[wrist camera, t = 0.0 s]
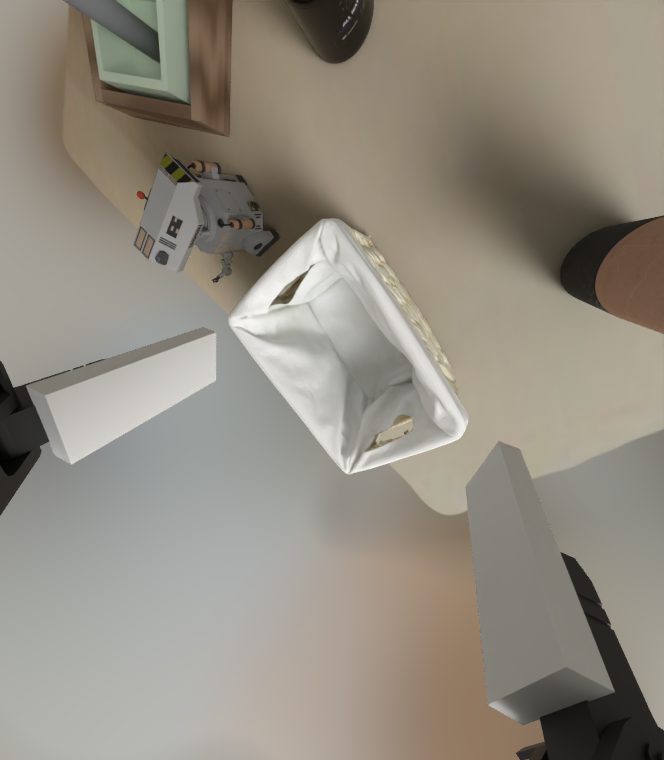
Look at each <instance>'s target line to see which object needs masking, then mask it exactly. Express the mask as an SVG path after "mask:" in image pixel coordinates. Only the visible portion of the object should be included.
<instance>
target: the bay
mask: <svg viewBox="0 0 664 760" xmlns="http://www.w3.org/2000/svg"><path fill="white" fill-rule="evenodd" d="M82 17H83V23H84V30H85V36H86V42H87V48H88V55H89V61H90V67H91V73H92V80H93V86H94V92H95V98H96V101H98V102H100V103H102V104H105V105H107V106H109V107H112V108H114V109H116V110H119V111H121V112H123V113H126V114H128V115H130V116H133V117H136V118H141V119H145V120H150V121H155V122H160V123H165V124H169V125H174V126H179V127H184V128H189V129H194V130H198V131H203V132H208V133H213V134H218V135H222V136H227V137H229V125H230V80H231V35H232V0H188V24H189V56H190V89H191V106H190V105H185V104H179V103H174V102H169V101H163V100H158V99H152V98H147V97H142V96H136V95H131V94H128V93H126V92H124V91H122V90H120V89H118V88H116V87H114V86H112V85H110V84H108V83H106V82H104V81H102V80H100V78H99V71H98V65H97V58H96V51H95V45H94V38H93V31H92V25H91V18H89V17H88V16H86V15H85V14H83V13H82Z"/></svg>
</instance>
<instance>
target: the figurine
mask: <svg viewBox="0 0 664 760" xmlns="http://www.w3.org/2000/svg"><path fill="white" fill-rule="evenodd" d="M190 167H191V168H192V170H193V171H197V172H201V173H203V178H202V176H201V175H196V174H193V173H192V172H191V171H190V170H189V168H190ZM220 173H221V168H220V165H219V164H218V163H208V162H203V161H195V160H192V161H191V165H189V166H188V167H186V166H185V165H184V164H183V163H182V162H181V161H180V160H178V159H177V158H175V157H174V156H172V155H170V154H169V153H166V154H165V156H164V158H163V160H162V161H161V163H160V165H159V168H158V171H157V174H156V177H155V180H154V183H153V186H152V188H151V190H150V193H149V196H148V198H147V197H145V195H144V193H143V192H141V191H138V192H137V196H138V197H139V198H140V199H144V198H145V199H147V202H146V205H145V208H144V213H143V216H142V219H141V222H140V226H139V229H138V232H137V235H136V238H135V241H134V244H133V245H134V246H135V247H136V248H137V249H138V250H139V251H140V252H141V253H142V254H143V255H144V256H145V258H146V259H148V261H150V262H153V263H155V264H157V265H159V266H161V267H164V268H166V269H168V270H170V271H172V272H174V273H178V272H180V271H182V270H183V268H184V266H185V264H186V262H187V260H188V257H189V255H190V253H191V251H192V249H193V247H194V244H195V245H197V247H198V248H199V249H200V251H203V252H206V253H209V254H218V253H221V255H222V256H223V258H224V259H221V262H222V264H223V268H222V272H221V273H220V274H219V275H218V276H217V278H215V279H213V280H212V281H213V282H218V280H219V279H220V277H221V278H222V277H223V276H224V275H226V276H229V275H230V274H231V273H232V270H231V269H230V263H232V261H231V257H232V256H233V253H232V252H231V251H237V250H244V249H245V251H246V252H247V253H249V254H255V255H256V256H261V255H262V254H263V253H264V252H265V251H266V250H268V248H269V247H270V246H271V245H273V244H274V243H275V242H276V241H277V240H278V239H279V238H280V237H279V235H278V234H277V232H276V230H275V229H274V230H270V231H263V212H262V211H261V208H260V207H259V205H258V203H257V201H255V199H254V197H253V196H252V194H251V193H250V191H249V189H248V188H247V186H246V185H247V183H246V182H245V180H244V178H243V177H242V176H239V175H236V176H232V175H227V174H220ZM219 174H220V175H219ZM214 280H216V281H214Z"/></svg>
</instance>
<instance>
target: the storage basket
mask: <svg viewBox="0 0 664 760" xmlns="http://www.w3.org/2000/svg"><path fill="white" fill-rule="evenodd" d="M370 238H371V236H370V235H369V236H366V235H365V234H362V233H361V232H358V231H357V230H355V229H351V227H349V226H348V225H347V224H346V223H344V222H343V221H342V220H340V219H335V218H329V219H321V220H319V221H318V222H317V223H316V224H315V225H314V226H313V227H312V228H311V229H310V230H308V231H307V232H306V233H305V234H304V235H303V236H301V237H300V238H299V239H298V240H297V241H296V242H295V243H294V244H293V245H292V246H291V247H290V248H289V249H288V250H287V251H286V252H285V253H284V254H283V255H282V256H280V257H279V258H278V260H277V261H276V262H275V263H274V264H273V265H272V266H271V267H270V268H269V269H268V270H267V271H266V272H265V273H264V274H263V275H262V276H261V277H260V279H259V280H258V281H257V282H256V283H255V284H254V285H253V286H252V288H251V289H250V290H249V291H248V292H247V293H246V294H245V296H244V297H243V298H242V299H241V301H240V302H239V303H238V304H237V306H236V307H235V308H234V309H233V310H232V312H231V313H230V314H229V316H228V323H229V326H230V327H231V328H232V330H233V331H234V333H235V334H236V335H237V337H238V338H239V339H240V341H241V342H242V343H243V345H244V346H245V347H246V349H247V350H248V352H249V353H250V355H251V356H252V357H253V359H254V360H255V361H256V363H257V364H258V365H259V366H260V368H261V369H262V370H263V371H264V373H265V374H266V375H267V377H268V378H269V379H270V380H271V382H272V383H273V384H274V386H275V387H276V388H277V389H278V391H279V392H280V393H281V394H282V396H283V397H284V398H285V399H286V401H287V402H288V403H289V404H290V406H291V407H292V408H293V409H294V411H295V412H296V413H297V414H298V415H299V417H300V418H301V420H302V421H303V422H304V423H305V425H306V426H307V427H308V429H309V430H310V431H311V432H312V434H313V435H314V436H315V438H316V439H317V440H318V442H319V443H320V444H321V445H322V447H323V448H324V449H325V450H326V452H327V453H328V454H329V455H330V457H331V458H332V459H333V460H334V461H335V463H336V464H337V465H338V466H339V467H340V469H341V470H342V471H343V472H345V473H347V474H352V473H354V472H358V471H364V470H367V469H371V468H374V467H377V466H380V465H384V464H387V463H390V462H393V461H396V460H399V459H402V458H405V457H408V456H412V455H415V454H418V453H422V452H425V451H428V450H431V449H434V448H437V447H440V446H442V445H445V444H448V443H451V442H453V441H455V440H458V439H460V438H461V437H462V435H463V433H464V431H465V429H466V426H467V424H468V415H467V412H466V410H465V409H464V407H463V405H462V403H461V402H460V397H459V390H458V388H457V387H456V386H457V383H456V380H455V376H454V373H453V370H452V367H451V365H450V363H449V362H448V360H447V358H446V355H445V353H444V351H443V350H442V349H441V348H440V345H439V343H438V341H437V339H436V337H435V336H434V335H433V334H432V332H431V328H430V326H429V324H428V322H427V321H426V319H425V318H424V317H423V316H422V314H421V312H420V310H419V308H418V307H417V305H416V304H415V303H414V301H413V300H412V299H411V298H410V297H409V295H408V293H407V291H406V289H405V288H404V286H403V285H402V284H401V283H400V282H399V280H398V278H397V276H396V274H395V272H394V271H393V270H392V268H391V267H390V266H389V265H388V264H387V262H386V261H385V259H384V257H383V255H382V253H381V252H380V251H379V250H377V249H376V248H375V246H374V244H373V243H372V241H371V239H370ZM411 420H413V423H414V424H413V429H412V430H411V432H410V433H407V432H409V431H408V430H407V431H405V432H404V434H406V433H407V434H406V435H404V436H401V437H399V438H396V439H389V440H386V441H380V443H379V444H376V442H377V441H378V439H379V435H380V433H382V432H384V431H387V430H389V429H392V428H394V427H397V426H399V425H403V424H404V423H407V422H409V421H411Z"/></svg>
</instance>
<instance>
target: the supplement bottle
mask: <svg viewBox="0 0 664 760" xmlns="http://www.w3.org/2000/svg"><path fill="white" fill-rule="evenodd" d="M285 2H286V3H287V5H288V7H289V8H290V10H291V12H292V13H293V15H294V17H295V18H296V20H297V22H298V23H299V25H300V27H301V28H302V30H303V32H304V33H305V35H306V37H307V38H308V40H309V42H310V43H311V45H312V46H313V48H314V50H315V51H316V52H317V54H318V55H319V56H320V57H321V58H322V59H323V60H325V61H327V62H329V63H335V64H336V63H342V62H344V61H346V60H348V59H350V58H351V57H352V56H353V55H354V54H355V53H356V52H357V51H358V50H359V49H360V47H361V46H362V44H363V43H364V41H365V39H366V37H367V34H368V32H369V29H370V26H371V22H372V17H373V9H374V0H285Z"/></svg>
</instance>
